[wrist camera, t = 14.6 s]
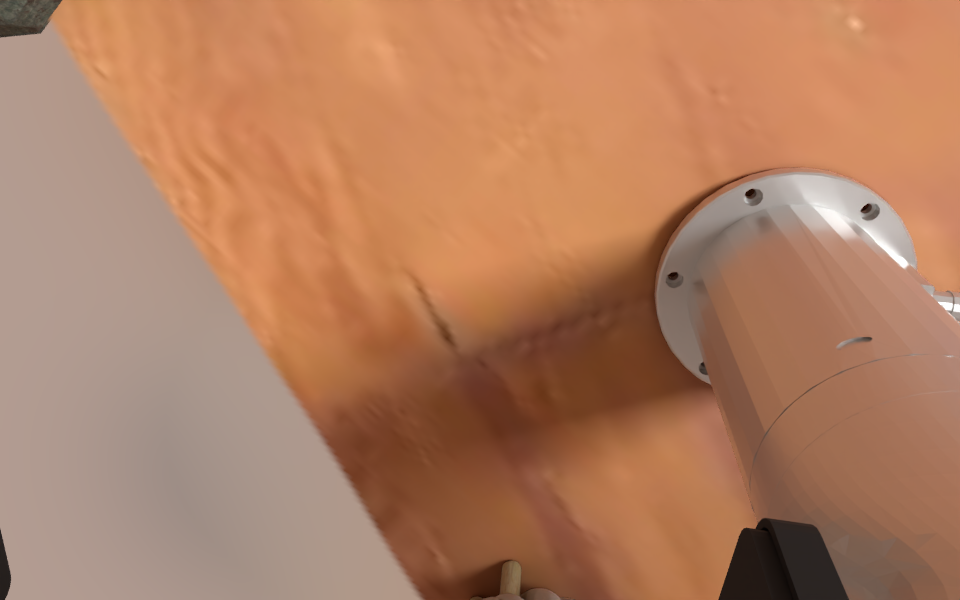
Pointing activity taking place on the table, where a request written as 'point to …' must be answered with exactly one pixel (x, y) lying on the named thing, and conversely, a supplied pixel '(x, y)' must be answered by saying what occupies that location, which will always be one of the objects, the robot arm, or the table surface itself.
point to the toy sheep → (518, 587)
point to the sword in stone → (25, 16)
